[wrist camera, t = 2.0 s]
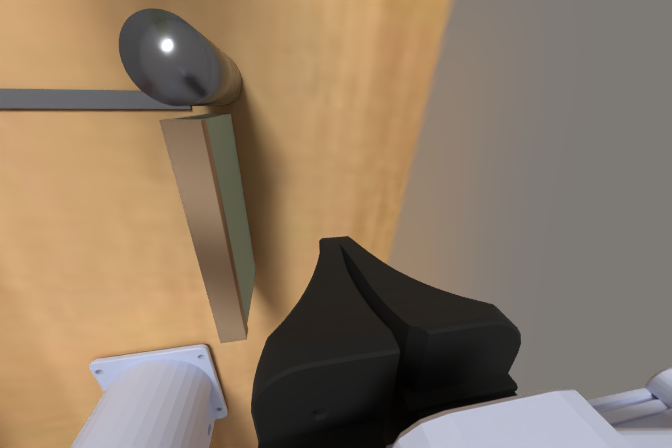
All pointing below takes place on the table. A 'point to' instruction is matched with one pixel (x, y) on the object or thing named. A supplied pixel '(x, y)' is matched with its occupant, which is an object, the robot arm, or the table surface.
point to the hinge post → (176, 61)
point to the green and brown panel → (215, 214)
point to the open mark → (79, 99)
